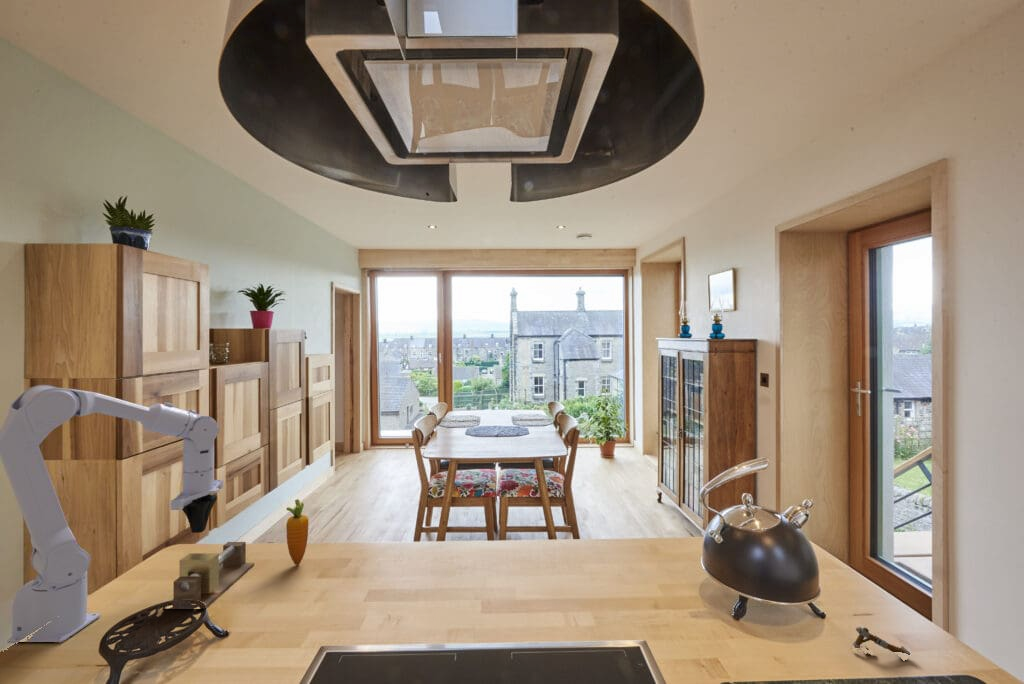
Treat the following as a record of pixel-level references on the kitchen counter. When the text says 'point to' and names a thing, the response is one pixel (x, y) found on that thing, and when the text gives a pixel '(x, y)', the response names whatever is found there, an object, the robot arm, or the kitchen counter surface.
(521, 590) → the kitchen counter surface
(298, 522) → the carrot
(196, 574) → the pipe
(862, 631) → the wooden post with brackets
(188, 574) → the brushed brass square block
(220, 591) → the slider rail
